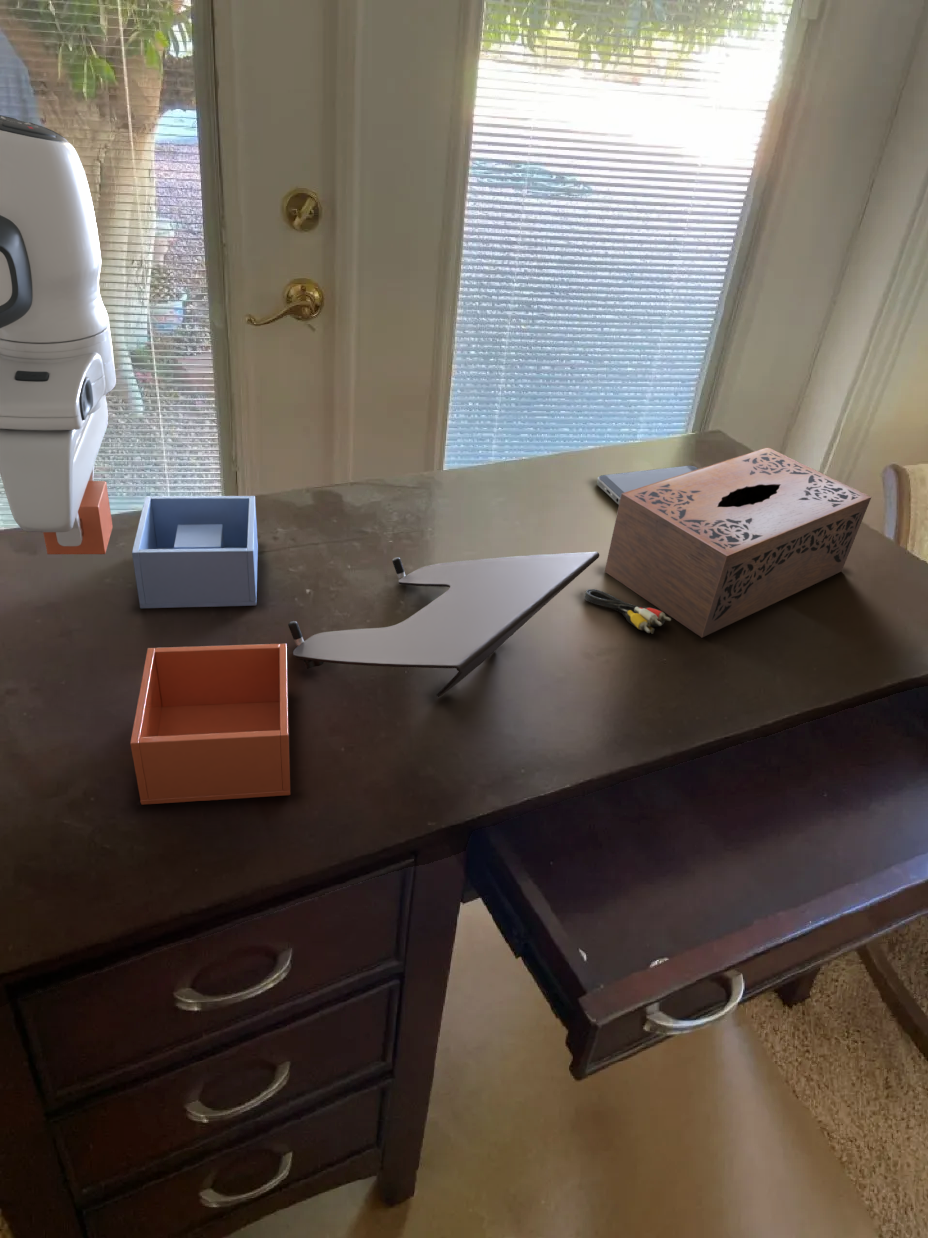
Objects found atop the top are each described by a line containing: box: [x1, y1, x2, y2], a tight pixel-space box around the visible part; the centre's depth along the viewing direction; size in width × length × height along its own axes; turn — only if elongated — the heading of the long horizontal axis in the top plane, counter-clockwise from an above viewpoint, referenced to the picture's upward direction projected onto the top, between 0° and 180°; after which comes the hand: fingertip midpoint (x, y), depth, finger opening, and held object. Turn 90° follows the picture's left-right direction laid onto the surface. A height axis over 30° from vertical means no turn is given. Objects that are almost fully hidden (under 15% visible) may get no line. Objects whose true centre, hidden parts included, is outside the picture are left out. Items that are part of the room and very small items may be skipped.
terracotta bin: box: [129, 643, 291, 806], centre depth 71 cm, size 11×11×6 cm
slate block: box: [174, 524, 225, 549], centre depth 92 cm, size 4×4×4 cm
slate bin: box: [131, 495, 259, 609], centre depth 91 cm, size 11×11×6 cm
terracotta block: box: [42, 480, 113, 555], centre depth 74 cm, size 4×4×4 cm
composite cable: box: [584, 588, 672, 634], centre depth 94 cm, size 10×5×2 cm, turn 39°
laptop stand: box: [287, 551, 600, 698], centre depth 84 cm, size 23×23×9 cm
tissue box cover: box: [604, 446, 872, 638], centre depth 101 cm, size 26×14×10 cm, turn 127°
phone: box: [596, 465, 699, 506], centre depth 119 cm, size 8×1×16 cm
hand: (77, 524), depth 74 cm, fingers closed on terracotta block, 4 cm apart
